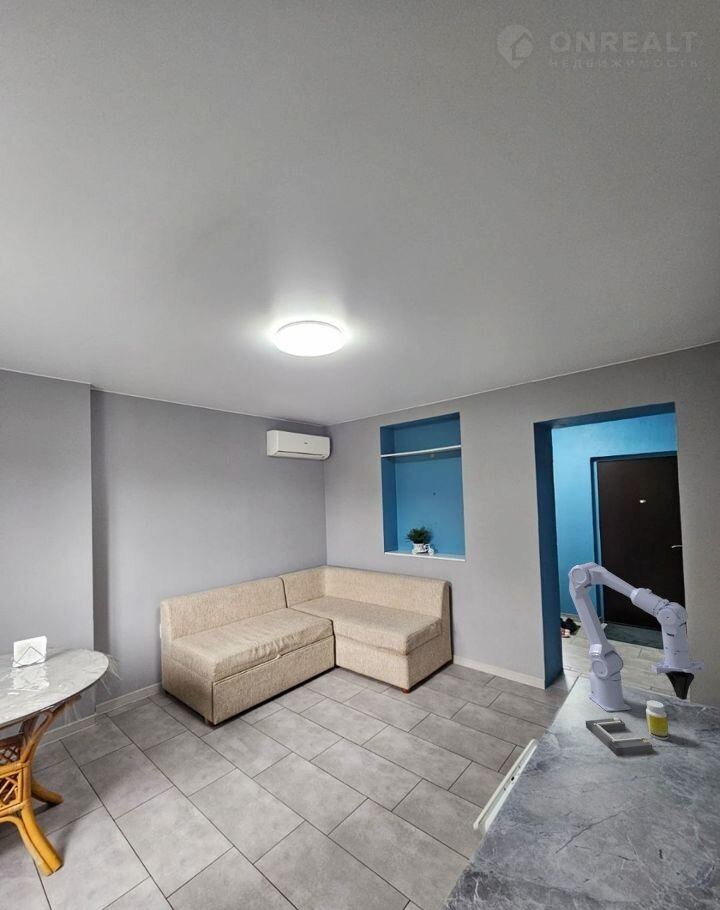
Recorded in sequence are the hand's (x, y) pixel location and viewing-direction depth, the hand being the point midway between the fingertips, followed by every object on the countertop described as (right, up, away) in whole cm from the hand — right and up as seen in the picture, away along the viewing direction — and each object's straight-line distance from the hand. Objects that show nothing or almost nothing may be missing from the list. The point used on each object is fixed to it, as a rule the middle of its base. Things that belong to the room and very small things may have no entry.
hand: (681, 697), depth 117 cm
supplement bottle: (-8, -10, -1) cm, 12 cm away
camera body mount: (-19, -10, -2) cm, 22 cm away
